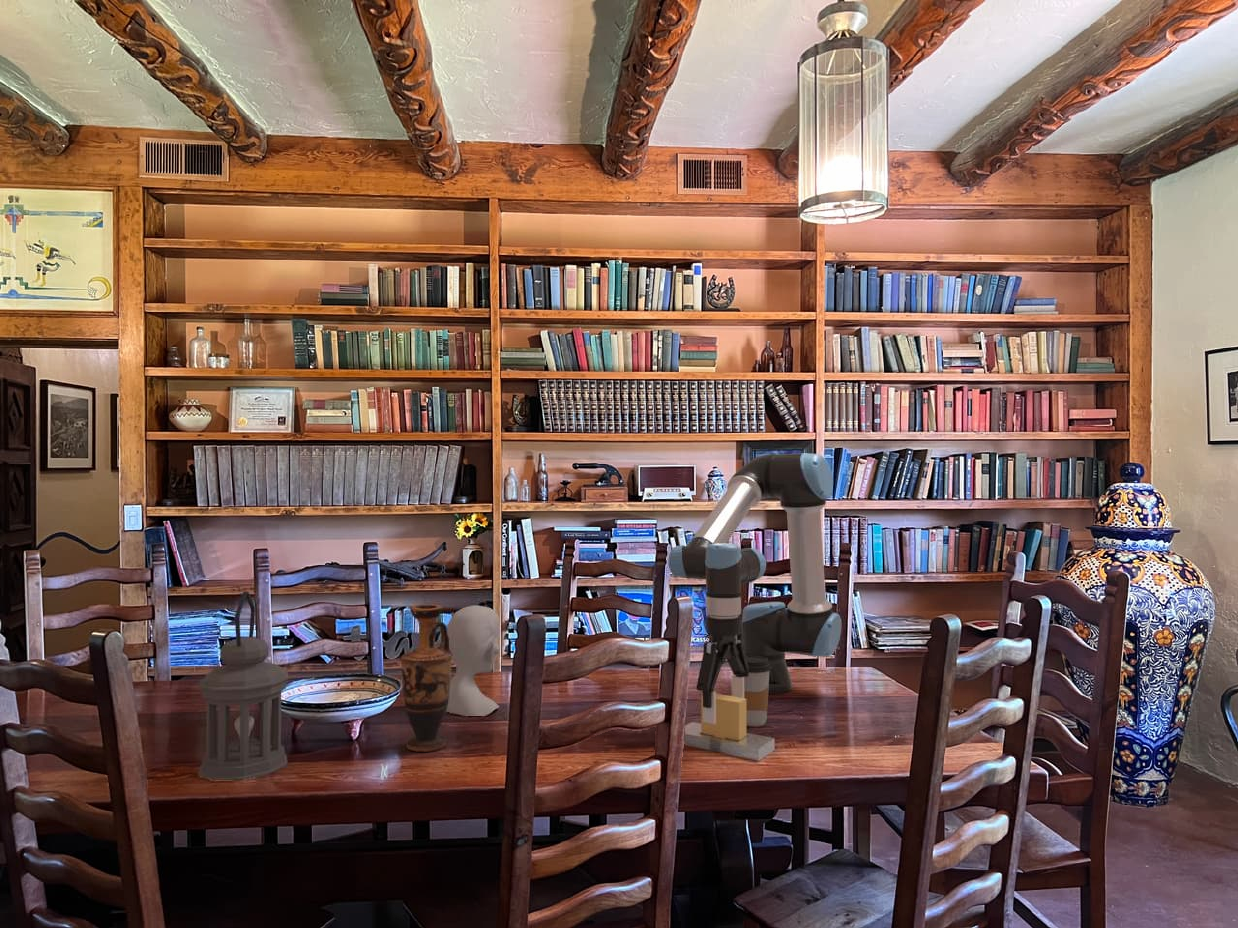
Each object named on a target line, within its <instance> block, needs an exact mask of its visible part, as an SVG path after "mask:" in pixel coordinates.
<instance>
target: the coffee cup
mask: <svg viewBox="0 0 1238 928" xmlns="http://www.w3.org/2000/svg"><path fill="white" fill-rule="evenodd" d="M746 658H747V662H748V666H749V671H748V672H749V676H748V677H744V698H745V699H746V727H762V726H764V725H765V724H766V723H767V715H768V707H769V704H768V703H769V694H768V692H769V671H770V664H769V663H768V659H767V658H765V657H761V656H746ZM743 666H744V665H743Z"/></svg>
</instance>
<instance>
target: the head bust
mask: <svg viewBox="0 0 1238 928" xmlns="http://www.w3.org/2000/svg"><path fill="white" fill-rule="evenodd" d="M446 627H447V632H448V637H449V648H450V651H451V653H452V655H453V656H452V662H453V663H454V664H455V667H456V671H455V674H454V676H453V677H451V681H450V694H449V700H448V705H447V709H446V713H447V712H449V713H448V714H454V715H459V716H464V717H468V716H482V717H485V716H488V715H490V714H491V713H493V712H494V711H495V710H496V709H499V708H500V706H499V705H498V704H497V702H495V701H494V700H493V699H491V698H489V697H488V696H485V695H484V694H483V693H482V692H481V690H480V689H479V687H478V686H477V684H476V682H475V678H474V677H475V675H476V674H478V673H490V672H492V670H493V669H494V663H495V661H496V658H497V655H498V654H499V653H500V651H501V650H500V649H501V648H500V645H499V644H498V641H499V638H500V631H499V630H500V617H499V615H498V614H497V613H496V611H495V610H494V609H492V608H490V607H488V606H482V605H474V604H473V605H470V606H466V607H463V608H461V609H459V610H457V611H456V612H455V613H454V614H453V615H452V616H451V618H450V620H449V622H448V624H447V626H446Z"/></svg>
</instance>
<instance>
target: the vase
mask: <svg viewBox="0 0 1238 928" xmlns="http://www.w3.org/2000/svg"><path fill="white" fill-rule="evenodd" d="M443 609H444V606H443V605H441V604H432V603H431V604H430V603H429V604H428V603H426V604H417V605H412V606H410V607H409V610H410V612H411V613H410V614H412V617H413V619H415V620H417V622H418V645H417V648H415V649H414V650H413V651H410V652H407V653H404V654H402V655H401V656H400V662H401V663H400V664H401V671H402V672H401V674H402V691H403V700H404V702H403V703H404V706H405V711H406V715H407V719H408V722H409V724H410V726H411V729H412V731H413V734H414V736H413V737H412V738H410V739H408V740H407V742H406V748H407V750H410V751H413V752H416V753H420V752H421V753H428V752H429V753H430V752H435V751H438V750H439V751H440V750H441V749H443V748H445V747H446V746H447V744H448V743H447V739H446V737H445V736H443V735H439V731H440V728H441V725H442V722H443V721H444V718H445V716H446V714H447V712H446V709H447V705H448V700H449V694H450V681H451V678H452V665H453V663H452V662H453V660H452V656H453V655H452V653H451V651H450V648H449V637H448V632H447V627H448V626H447V625H446V624H445V622H442V621H440V620H438V618H439V617H440V616H441V613H442V612H443ZM438 629H440V634H441V635H440V637H441V638H440V639H441V641H440V645H439V646H438V647H437V644H436V636H437V635H436V634H437V631H438Z"/></svg>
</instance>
